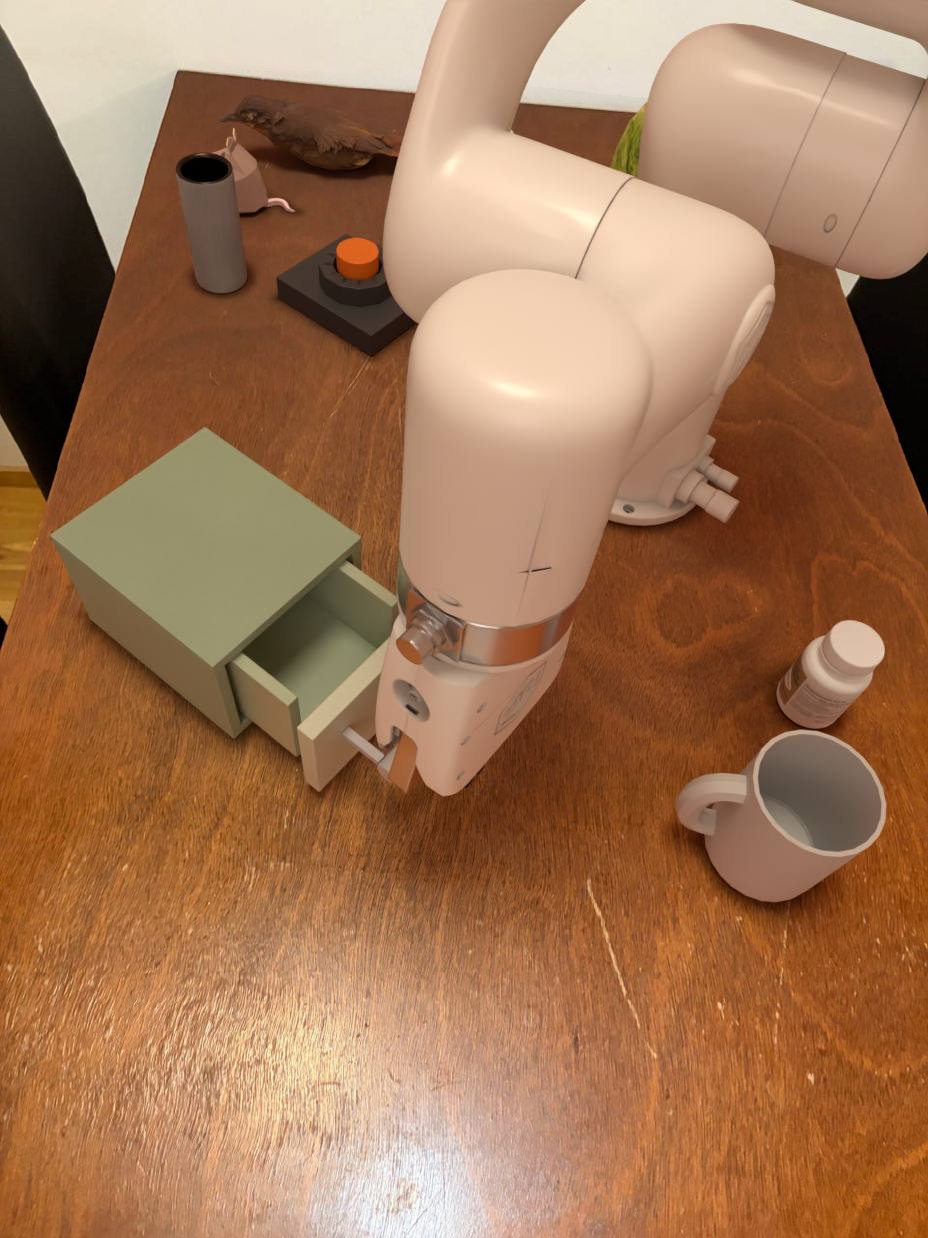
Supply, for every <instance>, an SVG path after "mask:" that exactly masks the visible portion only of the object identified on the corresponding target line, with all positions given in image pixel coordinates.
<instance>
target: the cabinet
mask: <svg viewBox="0 0 928 1238" xmlns="http://www.w3.org/2000/svg"><path fill="white" fill-rule="evenodd" d="M49 537H50V539H51V541H52V543H53V545H54V547H55V550H56V551H57V553H58V555H59V557H60V559H61V561H62V564H63V565H64V567H65V569H66V571H67V574H68V576H69V579H70V580H71V582H72V584H73V586H74V588H75V590H76V592H77V594H78V597H79V598H80V600H81V602H82V605H83V606H84V609H85V611H86V613H87V615H88V618H89V620H90V621H91V622H93V623H94V624H95V625H96V626H98V627H99V628H100V629H101V630H103V632H104V633H106V634H107V635H108V636H109V637H110V638H112V639H113V640H114V641H116V643H118V644H119V645H120V646H121V647H122V648H124V649H125V650H126V651H127V652H128V653H130V654H131V655H132V656H133V657H134V658H135V659H137V660H138V661H139V662H140V663H142V664H143V665H144V666H145V667H146V668H148V669H149V670H150V671H151V672H152V673H154V674H155V676H157V677H159V679H161V680H162V681H163V682H164V683H166V684H167V685H168V686H169V687H171V688H172V689H173V690H174V691H175V692H176V693H178V694H179V695H180V696H181V697H183V698H184V699H185V700H186V701H187V702H188V703H190V704H191V705H192V706H193V707H195V708H196V709H197V710H198V711H200V713H202V714H203V715H204V716H205V717H206V718H207V719H209V720H210V721H211V722H213V723H214V724H215V725H216V726H217V727H218V728H220V729H221V730H222V731H223V732H225V733H226V734H227V735H228V736H229V737H230V738H232V739H233V740H234V739H236V738H237V737H238V736H240V734H241V733H243V732H244V730H246V729H247V728H248V727H249V726H250V725H251V724H252V723H254V722H253V721H252V720H251V719H249V718H248V717H247V716H246V715H244V714H243V713H242V712H241V711H240V710H238V709H237V708H236V705H235V701H234V697H233V694H232V690H231V686H230V683H229V679H228V675H227V672H226V668H225V665H226V664H227V663H228V662H229V661H230V660H231V659H232V658H234V657H235V656H236V655H237V654H238V653H239V652H240V651H242V650H243V649H244V648H245V647H246V646H247V645H248V644H250V643H251V642H252V641H253V640H254V639H255V638H256V637H258V636H259V635H260V634H261V633H262V632H263V631H264V630H265V629H267V628H268V627H269V626H270V625H271V624H272V623H273V622H275V621H276V620H277V619H278V618H279V617H280V616H281V615H283V614H284V613H285V612H286V611H287V610H288V609H289V608H291V607H292V606H293V605H294V604H295V603H296V602H297V601H298V600H300V599H301V598H302V597H303V596H304V595H305V594H306V593H308V592H309V591H310V590H311V589H312V588H313V587H314V586H316V585H317V584H318V583H319V582H320V581H321V580H322V579H324V578H325V577H326V576H327V575H328V574H329V573H330V572H331V571H333V570H334V569H335V568H336V567H337V566H338V565H339V564H341V563H342V562H343V561H344V560H347V561H348V562H349V563H351V564H352V565H354V566H355V567H356V568H358V569H359V570H361V571H362V572H363V565H362V564H363V561H362V560H363V558H362V557H363V555H362V543H363V541H362V540H363V539H362V536H360V535H359V534H358V533H356V532H355V531H354V530H352V529H351V528H349V527H348V526H347V525H345V524H343V522H341V521H339V520H338V519H337V518H335V517H334V516H332V515H331V514H330V513H328V512H327V511H326V510H324V509H322V508H321V507H320V506H318V505H316V503H314V502H312V501H311V500H309V499H308V498H307V497H305V496H304V495H302V494H301V493H300V492H298V491H297V490H296V489H294V488H292V487H291V486H290V485H288V484H287V483H286V482H284V481H283V480H281V479H279V477H277V476H276V475H274V474H273V473H271V472H270V471H269V470H267V469H266V468H264V467H263V466H262V465H260V464H258V463H257V462H256V461H254V460H253V459H251V458H250V457H249V456H248V455H246V454H244V453H243V452H242V451H240V450H238V449H237V448H236V447H234V446H233V445H232V444H230V443H229V442H227V441H226V440H224V439H223V438H222V437H220V436H219V435H218V434H216V433H214V432H213V431H212V430H210V429H209V428H208V427H206V426H203V427H202V428H201V429H199V430H198V431H196V432H194V434H192V435H191V436H190V437H188V438H187V439H185V440H183V442H181V443H180V444H178V445H177V446H175V447H174V448H172V449H171V450H169V451H168V452H166V453H165V454H163V455H162V456H160V457H159V458H158V459H157V460H155V461H153V462H152V463H151V464H149V465H148V466H147V467H145V468H144V469H142V470H141V471H139V472H138V473H136V474H135V475H133V476H131V478H129V479H128V480H126V481H125V482H123V483H122V484H121V485H119V486H118V487H117V488H116V487H115V489H114V490H112V491H111V492H109V493H108V494H106V495H105V496H104V497H102V498H100V499H99V500H98V501H97V502H95V503H93V504H92V505H90V506H89V507H87V508H86V509H84V510H83V511H82V512H81V513H80V514H78V515H76V516H74V517H73V518H72V519H70V520H69V521H68V522H66V523H65V524H63V525H62V526H60V527H58V528H57V529H56V530H54V531H53V532H52V533H51V534H49Z"/></svg>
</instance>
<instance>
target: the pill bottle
mask: <svg viewBox="0 0 928 1238" xmlns="http://www.w3.org/2000/svg"><path fill="white" fill-rule="evenodd" d="M885 652H886V651H885V645H884V641H883V639H882V637H881V636H880V634H878V632H877V631H876V630H875V629H874V628H873V627H871V626H870V625H868V624H867V623H863V622H861V621H858V620H852V619H850V620H849V619H847V620H846V619H845V620H842V621H839V622H838V623H836V624H834V626H832V627H831V628H830V630H829V631H828V632H827V634H824V635H821V636H818V637H816V638H815V639H813V640H812V641H810V642H809V644H808V645H807V646H806V647H805V648H804V650H802V652H801V654H800V655H799V656H798V657H797V659H795V661H794V662H793V664H792V665H791V666H790V668H789V669H788V670H787V671H786V673H785V674H784V675H783V676H782V677H781V679H780V681H779V682H778V684H777V687H776V699H777V704H778V705H779V708H780V709H781V712H783V714H784V715H785V716H786V717H787V718H788V719H789V720H790V721H792V722H793V723H795V724H797V725H798V726H800V727H804V728H808V729H824V728H827V727H829V726H830V725H832V724H834V723H835V722H836V721H837V719H838V718H840V717H841V715H843V714H844V712H846V711H847V710H848V708H849V707H850V706H851V705H852V704H853V703H854V702H855V701H856V700H857V699H859V697H860V696H861V695H862V694H863V693H864V692H865V691H866V689H867V688H869V686H870V685H871V682H872V679H873V676H874V671H875V669H876V668H877V667H878V666H879V665H880V663H881V662H882V661H883V659H884V657H885V654H886V653H885Z"/></svg>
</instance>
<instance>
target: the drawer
mask: <svg viewBox="0 0 928 1238" xmlns="http://www.w3.org/2000/svg"><path fill="white" fill-rule="evenodd" d="M398 615H399V609H398V604H397V595H395V594H394V593H393V592H391V591H390V590H389V589H387V588H386V587H384V586H383V585H381V584H380V583H379V582H378V581H376V580H375V579H373V578H372V577H370V576H369V575H368V574H367V573H365V572H364V571H363V570H362V571H361V570H359V569H358V568H356V567H355V566H354V565H352V564H351V563H349V562H348V561H347V560H344V561H343V562H342V563H341V564H339V565H338V566H337V567H336V568H335V569H334V570H333V571H331V572H330V573H329V574H328V575H327V576H326V577H325V578H324V579H322V580H321V581H320V582H319V583H318V584H317V585H316V586H314V587H313V588H312V589H311V590H310V591H309V592H308V593H306V594H305V595H304V596H303V597H302V598H301V599H300V600H298V601H297V602H296V603H295V604H294V605H293V606H292V607H291V608H289V609H288V610H287V611H286V612H285V613H284V614H283V615H281V616H280V617H279V618H278V619H277V620H276V621H275V622H273V623H272V624H271V625H270V626H269V627H268V628H267V629H265V630H264V631H263V632H262V633H261V634H260V635H259V636H258V637H256V638H255V639H254V640H253V641H252V642H251V643H250V644H248V645H247V646H246V647H245V648H244V649H243V650H242V651H240V652H239V653H238V654H237V655H236V656H235V657H234V658H232V659H231V660H230V661H229V662H228V663H227V664H226V665H225V668H226V672H227V675H228V679H229V683H230V686H231V690H232V694H233V697H234V701H235V705H236V708H237V709H238V710H240V711H241V712H242V713H243V714H244V715H246V716H247V717H248V718H249V719H251V720H252V721H253V722H252V723H254V724H255V725H256V726H258V728H260V729H261V730H263V731H264V732H265V733H266V734H267V735H268V736H270V737H271V738H272V739H274V740H275V741H276V742H277V743H279V744H280V745H281V746H282V747H283V748H285V749H286V750H287V751H288V752H290V753H291V754H292V755H293V756H294V757H298V756H300V758H301V764H302V770H303V771H302V772H303V776H304V781H305V782H306V783H307V784H308V785H310V786H311V787H312V788H313V789H315V790H316V791H317V792H321V791H322V790H323V789H324V788H325V787H326V786H327V785H329V783H330V782H331V781H332V779H334V777H335V776H336V775H337V774H338V773H339V772H340V771H341V770H342V769H343V768H344V767H345V766H346V765H348V763H349V762H350V761H351V760H352V759H353V758H354V757H355V755H356V754H357V753H361V754H362V755H364V756H365V757H366V758H367V759H369V760H370V761H371V762H372V763H373V764H375V765H376V769H377V772H378V773H379V775H381V777H383V778H384V779H385V781H387V782H389V783H391V784H393V783H392V782H391V781H390V780H388V775H389V772H390V768H391V765H392V762H393V759H394V756H395V752H396V749H397V746H398V743H396V745H395V746H393V748H392V749H391V750H389V752H388V753H387V754H385V753H383V752H382V751H381V750H380V749H378V748H377V747H375V745H373V744H372V743H371V742H370V740H371V739H372V738H373V736H375V735H376V727H375V717H376V703H377V695H378V688H379V682H380V676H381V671H382V667H383V662H384V658H385V654H386V650H387V646H388V642H389V639H390V636H391V632H392V629H393V625H394V622H395V620H396V619H397V617H398Z"/></svg>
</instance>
